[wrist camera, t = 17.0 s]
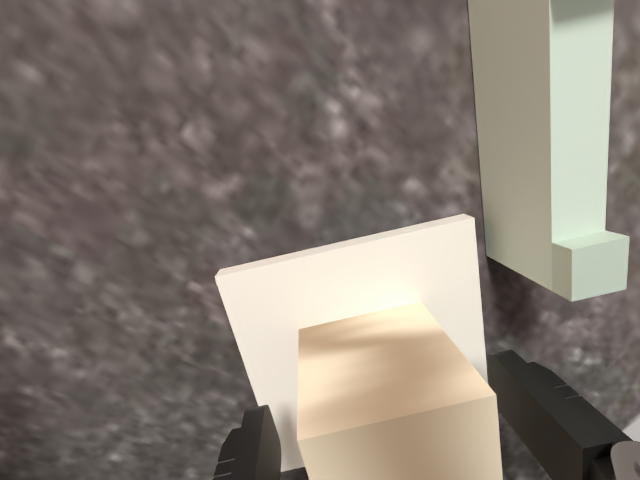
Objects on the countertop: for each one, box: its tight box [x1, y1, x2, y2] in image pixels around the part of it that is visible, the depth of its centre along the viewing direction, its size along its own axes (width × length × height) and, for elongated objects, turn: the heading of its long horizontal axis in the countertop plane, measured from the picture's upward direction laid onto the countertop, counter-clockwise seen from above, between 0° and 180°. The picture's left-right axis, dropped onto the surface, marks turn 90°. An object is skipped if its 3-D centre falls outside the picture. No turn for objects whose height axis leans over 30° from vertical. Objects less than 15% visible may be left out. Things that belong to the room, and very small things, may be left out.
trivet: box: [215, 214, 488, 472], centre depth 13 cm, size 10×10×1 cm
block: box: [297, 301, 503, 480], centre depth 11 cm, size 5×7×5 cm
